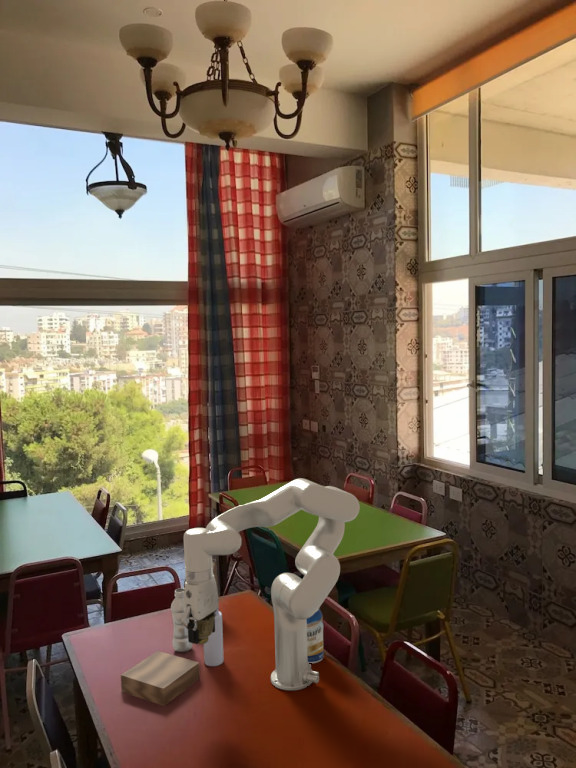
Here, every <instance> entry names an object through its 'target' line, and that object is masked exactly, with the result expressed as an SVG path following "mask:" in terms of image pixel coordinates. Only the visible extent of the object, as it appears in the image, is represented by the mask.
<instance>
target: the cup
mask: <svg viewBox="0 0 576 768" xmlns="http://www.w3.org/2000/svg"><path fill="white" fill-rule="evenodd" d="M192 617H193V616H192ZM190 621H191V623H192V624H194V620H191V619H190ZM197 623H198V625H197V629H198V630H199V643H198V644H197V645H204V643H207V642H208V640H209V636H210V635H211V633H212V631H213V627H214V612H212V613H211V614H209V615H208V616H206V617H205V618H203V619H202V620H199V621H198V620H197Z"/></svg>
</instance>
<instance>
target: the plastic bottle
mask: <svg viewBox="0 0 576 768" xmlns="http://www.w3.org/2000/svg"><path fill="white" fill-rule="evenodd" d="M184 590H185V588H184V587H181V588H176V589H175V590H174V597H175V598H174V599H173V600H172V602H171V604H170V605H171V606H170V611H171V615H172V616H171V617H172V622H173V623H172V624H173V631H172V632H173V635H172V641H171V642H172V643H171V644H172V648H173V649H174V651H176V652H179V653H184V652H188V651H190V650H191V649H192V647H193V645H194V643H190V642H189V641H188V629H186V627H185V626H184V625H183V624H182V623H181V619H182V617H183V615H184Z"/></svg>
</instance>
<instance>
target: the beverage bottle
mask: <svg viewBox="0 0 576 768" xmlns="http://www.w3.org/2000/svg"><path fill="white" fill-rule="evenodd" d="M323 618H324V617H323V614H322V611H321V609H320V608H319V609H318V610H317V611H316V612H315V613H314V614H313V615H312V616H311V617H309V618H307V658H308V664H309V663H312V664H317V663H320V662H321V661H322V660H323V659H324V622H323V620H324V619H323Z"/></svg>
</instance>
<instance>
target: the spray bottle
mask: <svg viewBox="0 0 576 768" xmlns="http://www.w3.org/2000/svg"><path fill="white" fill-rule="evenodd" d="M215 613H216V617H215V632H214V633H213V632H212V633H211V635H210V636H209V640H208V642H207V643H204V644H203V659H204V660H203V661H204V662H203V663H204V664H205V665H206V666H209V667H217V666H220V665H222V664H223V663H224V637H223V635H224V633H223V630H224V627H223V614H222V612H221V611H219V607H218V608H217V610H216V612H215Z"/></svg>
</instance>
